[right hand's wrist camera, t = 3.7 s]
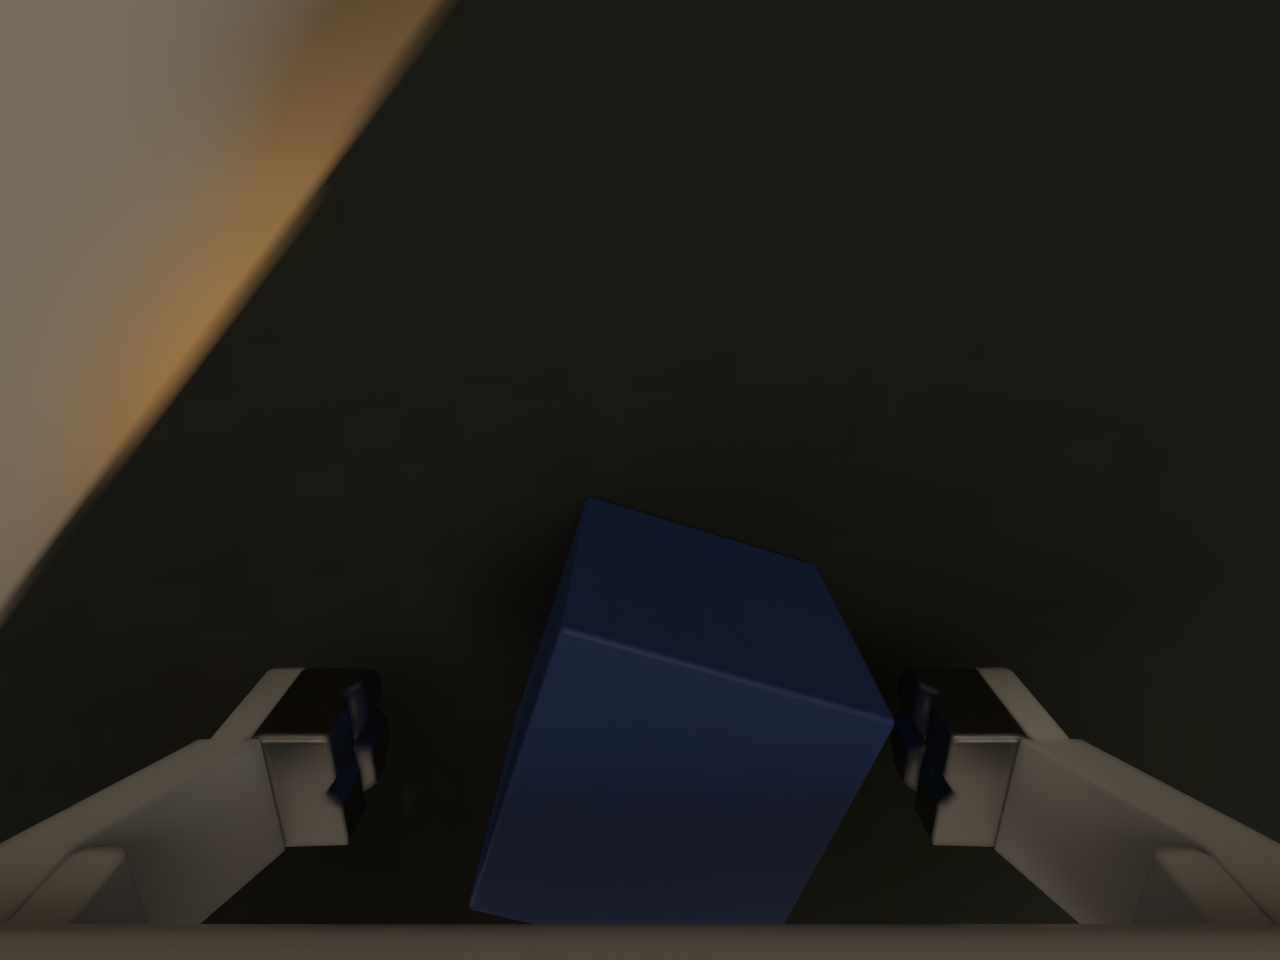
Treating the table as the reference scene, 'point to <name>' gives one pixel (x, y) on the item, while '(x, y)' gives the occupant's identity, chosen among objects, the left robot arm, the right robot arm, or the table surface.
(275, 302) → the table surface
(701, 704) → the block
